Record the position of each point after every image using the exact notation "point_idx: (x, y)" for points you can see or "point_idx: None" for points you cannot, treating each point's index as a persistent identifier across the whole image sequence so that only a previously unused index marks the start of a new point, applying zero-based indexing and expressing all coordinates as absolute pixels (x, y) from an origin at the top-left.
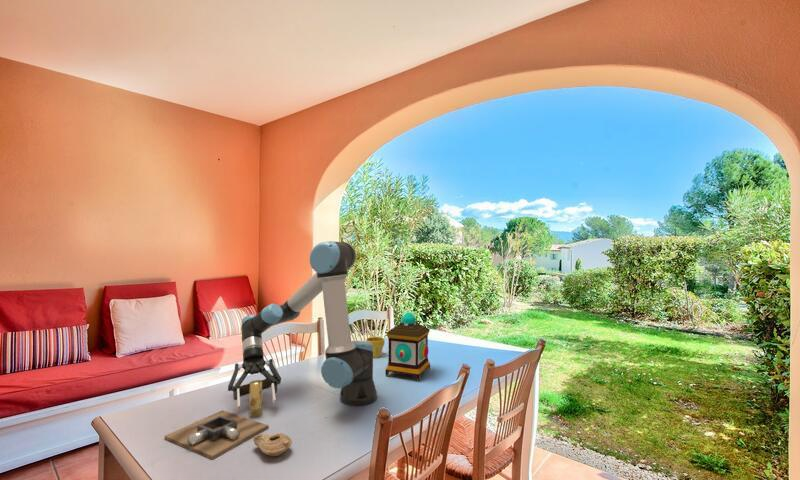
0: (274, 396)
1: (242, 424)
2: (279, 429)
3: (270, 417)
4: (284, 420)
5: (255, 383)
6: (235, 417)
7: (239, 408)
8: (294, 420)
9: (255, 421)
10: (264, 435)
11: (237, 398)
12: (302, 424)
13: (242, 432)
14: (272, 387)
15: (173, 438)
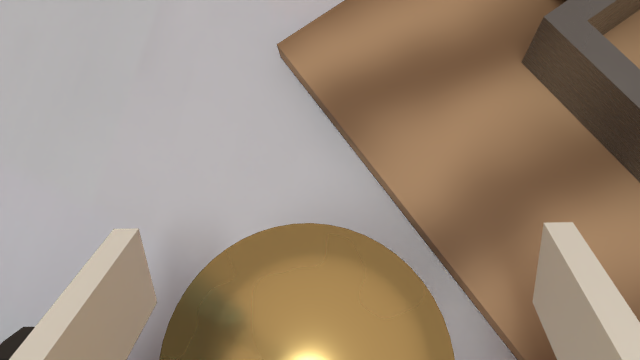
0: (104, 252)
1: (477, 139)
2: (213, 15)
3: (230, 237)
4: (143, 134)
5: (324, 284)
6: None
7: (537, 285)
8: (78, 103)
9: (366, 150)
10: None
11: (616, 288)
12: (54, 25)
13: (475, 9)
14: (46, 348)
15: None
